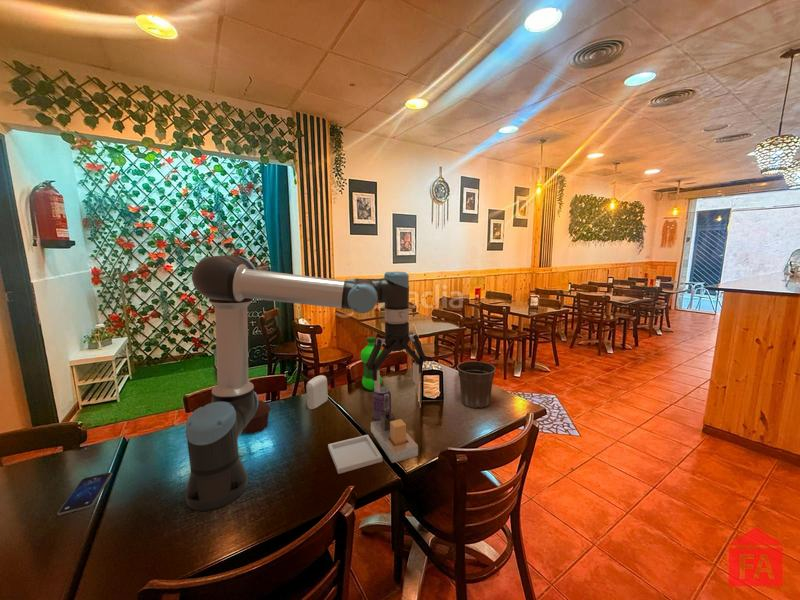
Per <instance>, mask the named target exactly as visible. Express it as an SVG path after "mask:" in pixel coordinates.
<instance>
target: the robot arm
mask: <svg viewBox="0 0 800 600" xmlns="http://www.w3.org/2000/svg"><path fill="white" fill-rule="evenodd" d="M191 281H192V285H193V287H194V288H195V290H196V291H197V292H198V293H199V294H200V295H202V296H203V297H205V298H206V299H208V302H209V304H211V305H212V306H213V307H214V310H215V312H214V313H215V317H214V318H215V345H216V346H215V347H216V350H215V351H216V382H217V384H216V385H215V386H214V387H213V388H212V389H211V402H209V403H207V404H204V406H200V407H198V408H196V409H195V410H193V411H192V413H191V414H190V415H189V416H188V418H187V419H186V424H185V428H186V429H185V438H186V441H187V449H188V450H187V451H188V458H189V467H190V473H189V477H188V481H187V485H186V489H185V493H184V494H185V495H184V497H185V503H186V505H187V507H188V508H189V509H192V510H194V511H200V512H202V511H203V512H204V511H210V510H216V509H218V508H222V507H224V506H226V505H229V504H230V503H232V502H233V501H235V500H236V499H238V498H239V497H240V496H241V495H242V494H243V493H244V492H245V490H246V489H247V487H248V483H249V479H248V478H249V477H248V472H247V470H246V468H245V466H244V465H243V462H242V461H241V459H240V455H239V454H240V453H239V443H238V440H239V437H240V436H241V434H242V433H243V432H244V431H243V430H244V428H245V427H246V426H247V424H248V423H249V422H250V420H251V419H252V418H253V417H254V415H255V413H256V411H257V408H258V403H259V401H258V400H259V396H258V394H257V392H255V391H254V389H255V388H254V387H255V385H254V384H253V382H251V381H249V341H248V340H249V339H248V338H249V337H248V335H249V333H248V332H249V330H248V327H249V325H248V321H249V320H248V318H249V317H248V315H249V314H248V307H249V306H250V304H252V302H253V300H261V301H270V302H271V301H272V302H278V303H279V302H280V303H287V304H288V303H289V304H298V305H308V306H316V307H317V306H318V307H325V308H326V307H327V308H336V309H344V310H351V311H353V312H355V313H357V314H366V313H367V314H368V313H369V312H371V311H373V309H374V308H375V306H376V305H377V304H384V321H385V322H384V338H379V337H375V338H376V339H375V345H374V348H373V350H372V352H371V354H370V357H369V359H368V361H367V363H366V368H367V369H368V370H372V380H373V381H374V382H375V389H376V390H377V391H380V387H381V385H380V376H381V374H380V373H381V372H380V371H381V370H380V371H379V370H378V368H379V367H380V368H381V365H382V364H384V363H383V362H384V361H385V360H386V359H387V357H388V356H389V355H391V353H392V352H393V353H394V352H398V351H401V352H403V350H405V351H406V352H407V353H408V355H409V356H410V357H411V358H412V360H414V362H413V363H412V366H413V367H412V382H413V383H414V384H416V385H419V384H420V374H421V373H422V365H423V364H424V362H427V357H426V355H425V352H424V350H423V349H422V346H421V344H420V342H419V336H418V335H417V334H416V333H411V334H410V335H409V332H410V322H409V320H410V307H409V306H410V280H409V274H408V273H407V272H406V271H386V272H384V276H383V278H382V277H381V278H357V277H356V278H349V279H346V280H342V279H334V278H327V277H319V276H310V275H302V274H292V273H284V272H278V271H270V270H269V271H268V270H260V269H257V268H256V267H255V265H254V264H253V262H252V261H250V260H249V259H247V258H245V257H243V256H239V255H233V254H225V255H213V256H207V257H205V258H203V259H201V260H199V262H197V263H196V265H195V266H194V267H193V270H192V273H191ZM409 342H412V345H413V347H414V349H415V351H416V352H417V354H416V353H415V352H414V351H413V349H411V347H410V346H409V345H408V343H409ZM384 344H385V345H384ZM383 345H384V347H383V348H382V346H383ZM381 348H382V349H381ZM380 349H381V351H382V352H381V353H380V355H379V356H378V358H377V355H378V353H379V351H380ZM376 358H377V359H376Z"/></svg>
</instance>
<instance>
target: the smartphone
mask: <svg viewBox="0 0 800 600" xmlns="http://www.w3.org/2000/svg"><path fill="white" fill-rule="evenodd" d="M112 476H113V472H110V471H109V472H106V473H101V474H95V475H92V476H88V477H84V478H83V479H81V480H80V482H79V483H78V484H76V485H77V486H76V487H75V488H74V490H72V492H71V494H70V495H69V496H68V498H67V499H66V501H64V503H63V505H62V506H61V507H60V509H59V510H58V512H57V513H56V515H57V516H58V517H60V516H61V517H62V516H64V515H69V514H72V513H74V512H81V511H84V510H88V509H91V508H92V507H94V505H95V504H96V502H97V501H98V499H99V497H100V496H101V494H102V493H103V492H104V489H105V488H106V487H107V484H108V483H109V482H110V480H111V478H112Z"/></svg>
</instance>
